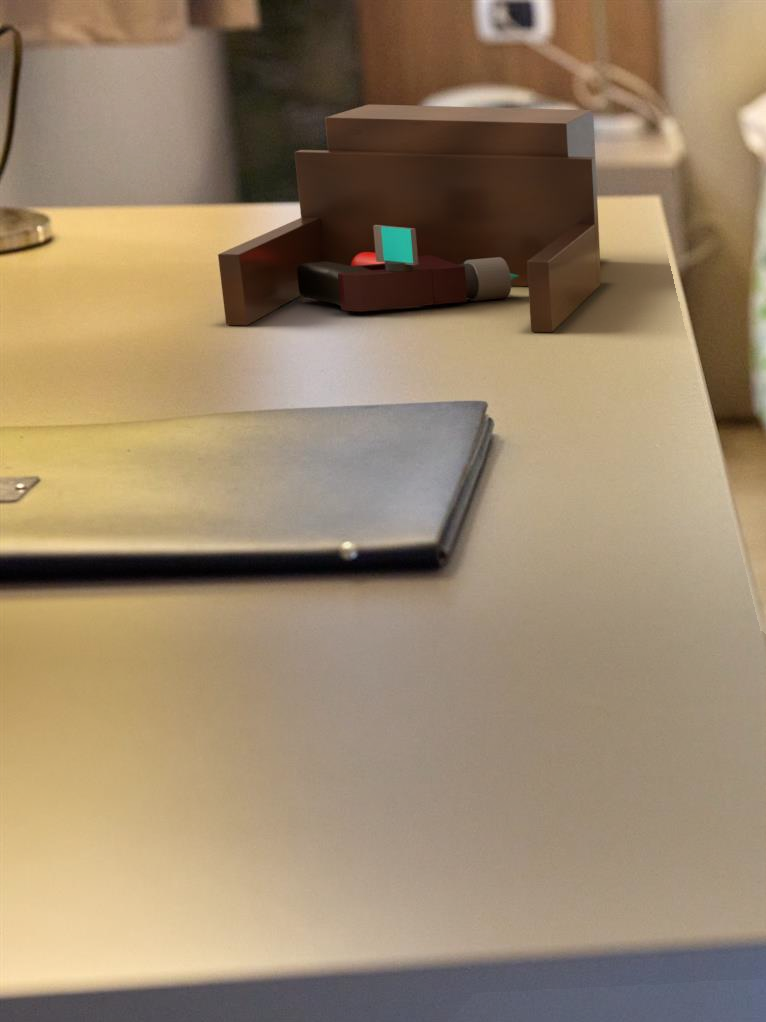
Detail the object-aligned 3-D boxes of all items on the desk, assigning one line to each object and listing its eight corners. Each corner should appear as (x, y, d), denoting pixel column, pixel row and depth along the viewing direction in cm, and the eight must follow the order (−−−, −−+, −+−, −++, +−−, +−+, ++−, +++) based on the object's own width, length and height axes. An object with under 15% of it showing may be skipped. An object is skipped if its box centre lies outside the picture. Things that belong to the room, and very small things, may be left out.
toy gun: (533, 300, 120) (528, 220, 118) (342, 320, 113) (334, 235, 111) (463, 277, 127) (458, 200, 125) (280, 294, 119) (271, 213, 118)
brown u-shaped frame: (225, 325, 110) (204, 143, 107) (355, 254, 134) (342, 103, 130) (552, 332, 111) (541, 151, 107) (625, 261, 134) (618, 110, 131)
